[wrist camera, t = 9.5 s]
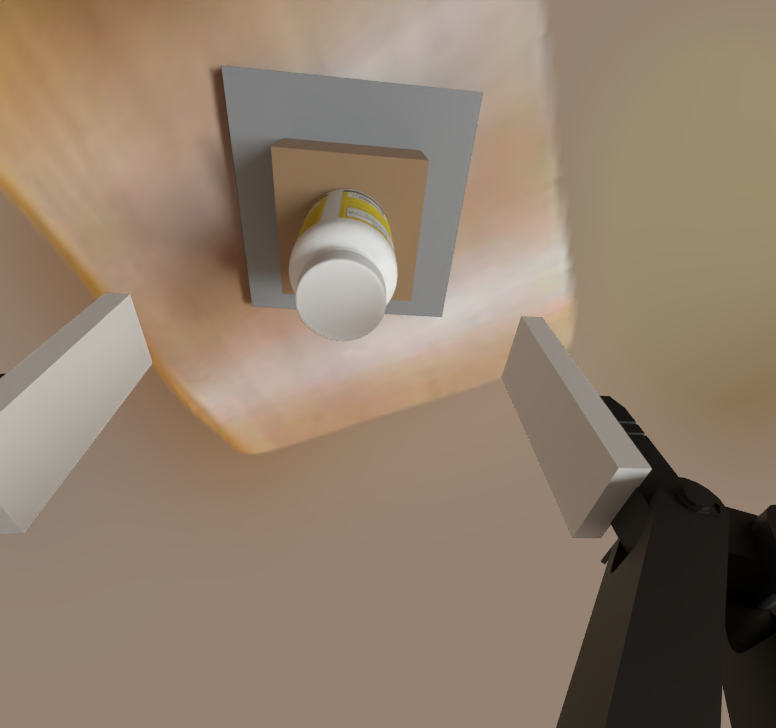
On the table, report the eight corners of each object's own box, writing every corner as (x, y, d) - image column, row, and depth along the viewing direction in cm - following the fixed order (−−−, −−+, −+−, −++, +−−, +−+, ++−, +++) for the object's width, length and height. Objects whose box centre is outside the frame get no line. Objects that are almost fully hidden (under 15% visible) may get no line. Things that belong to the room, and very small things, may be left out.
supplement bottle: (317, 279, 27) (296, 362, 19) (294, 195, 23) (257, 251, 15) (396, 266, 26) (409, 345, 18) (383, 180, 23) (392, 229, 15)
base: (226, 66, 24) (193, 61, 20) (479, 92, 25) (503, 93, 21) (255, 301, 33) (237, 334, 29) (440, 311, 35) (450, 345, 30)
